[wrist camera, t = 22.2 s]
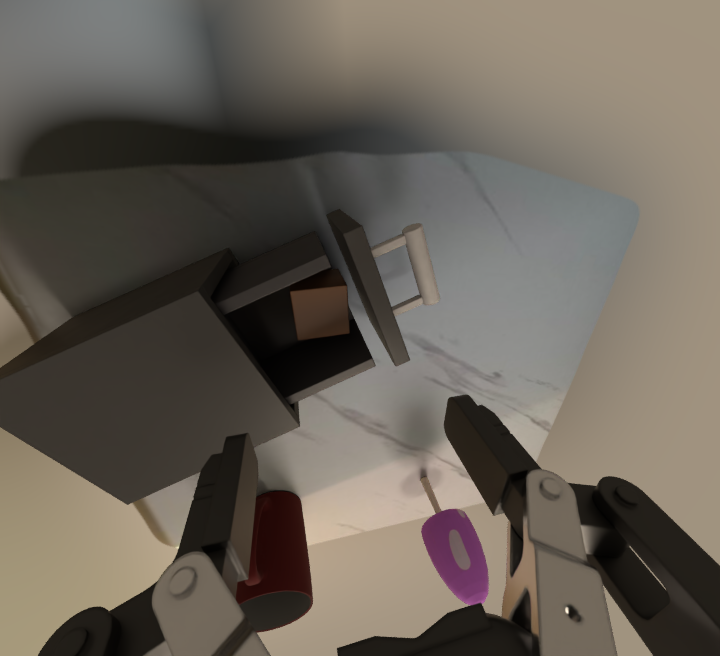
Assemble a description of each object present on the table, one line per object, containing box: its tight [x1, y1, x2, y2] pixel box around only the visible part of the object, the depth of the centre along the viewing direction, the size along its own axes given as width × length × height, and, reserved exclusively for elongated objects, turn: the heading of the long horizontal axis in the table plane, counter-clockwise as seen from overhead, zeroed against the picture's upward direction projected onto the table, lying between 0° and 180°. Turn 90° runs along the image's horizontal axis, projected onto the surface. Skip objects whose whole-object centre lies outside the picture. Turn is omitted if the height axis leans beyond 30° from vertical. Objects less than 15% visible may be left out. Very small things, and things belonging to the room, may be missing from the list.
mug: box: [235, 491, 313, 633], centre depth 34 cm, size 12×9×11 cm
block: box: [289, 269, 350, 341], centre depth 23 cm, size 4×4×4 cm
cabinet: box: [0, 248, 300, 505], centre depth 22 cm, size 14×12×10 cm
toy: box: [421, 477, 489, 605], centre depth 38 cm, size 7×7×15 cm
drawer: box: [210, 209, 440, 405], centre depth 22 cm, size 17×10×8 cm, turn 111°
